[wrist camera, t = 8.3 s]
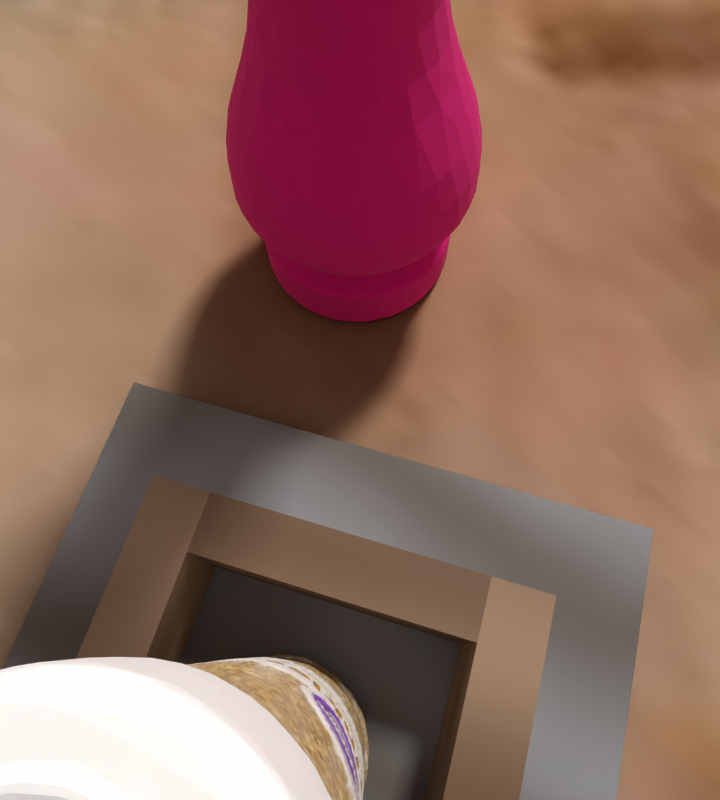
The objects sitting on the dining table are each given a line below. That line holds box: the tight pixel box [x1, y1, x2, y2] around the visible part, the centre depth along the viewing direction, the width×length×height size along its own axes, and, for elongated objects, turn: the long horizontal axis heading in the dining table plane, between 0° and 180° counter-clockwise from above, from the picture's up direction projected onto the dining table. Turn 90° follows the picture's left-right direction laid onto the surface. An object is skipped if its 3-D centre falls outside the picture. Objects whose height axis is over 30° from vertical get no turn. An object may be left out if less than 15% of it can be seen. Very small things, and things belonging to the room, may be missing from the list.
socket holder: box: [3, 383, 653, 800], centre depth 15 cm, size 16×16×4 cm
